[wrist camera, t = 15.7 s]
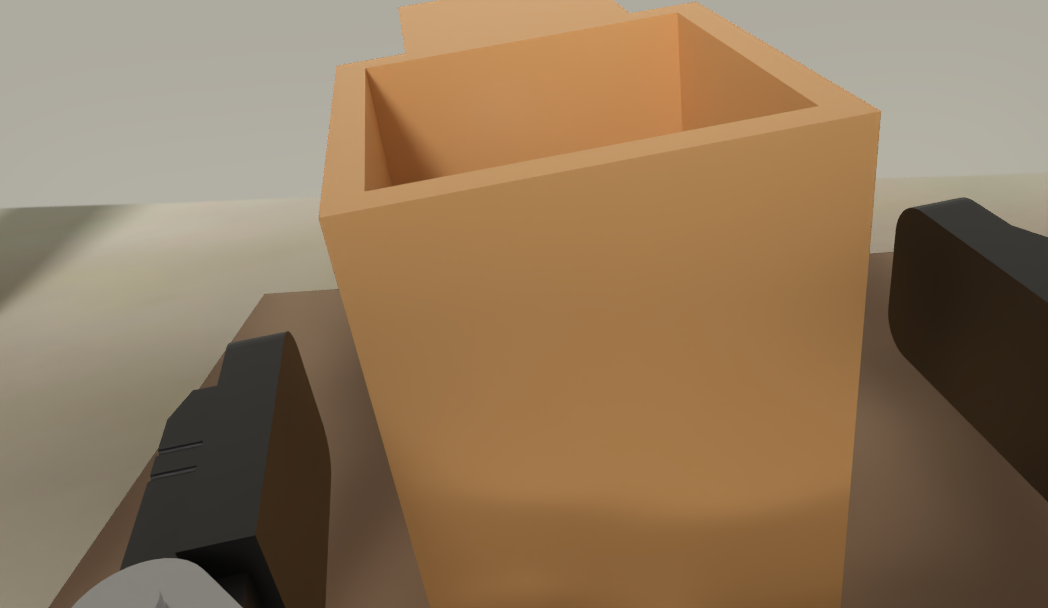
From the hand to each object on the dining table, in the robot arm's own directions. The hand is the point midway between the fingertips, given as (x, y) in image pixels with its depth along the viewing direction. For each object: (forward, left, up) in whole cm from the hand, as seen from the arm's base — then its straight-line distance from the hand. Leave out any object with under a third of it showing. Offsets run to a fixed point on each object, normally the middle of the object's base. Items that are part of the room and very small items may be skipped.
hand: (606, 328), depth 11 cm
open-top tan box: (-1, +5, -7) cm, 9 cm away
